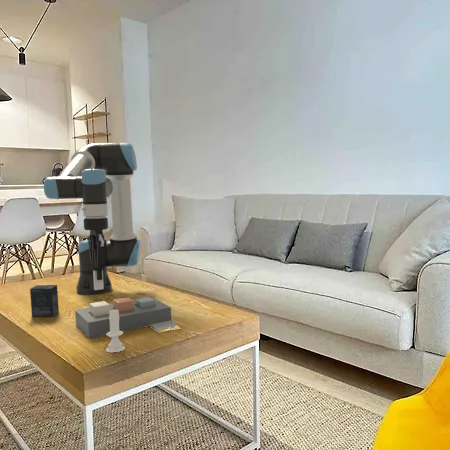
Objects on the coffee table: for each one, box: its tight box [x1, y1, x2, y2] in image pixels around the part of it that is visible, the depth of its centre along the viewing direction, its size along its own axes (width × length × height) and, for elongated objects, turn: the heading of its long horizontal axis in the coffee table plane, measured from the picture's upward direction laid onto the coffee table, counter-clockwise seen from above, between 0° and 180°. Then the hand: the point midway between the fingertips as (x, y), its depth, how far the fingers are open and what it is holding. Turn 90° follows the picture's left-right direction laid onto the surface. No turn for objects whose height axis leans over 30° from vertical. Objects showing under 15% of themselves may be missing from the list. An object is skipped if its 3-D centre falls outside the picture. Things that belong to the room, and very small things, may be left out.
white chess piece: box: [105, 309, 126, 354], centre depth 125 cm, size 5×5×12 cm
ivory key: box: [89, 300, 110, 317], centre depth 144 cm, size 5×5×4 cm
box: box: [29, 284, 60, 318], centre depth 160 cm, size 8×6×11 cm
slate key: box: [135, 297, 155, 308], centre depth 153 cm, size 5×5×4 cm
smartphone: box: [149, 319, 178, 333], centre depth 147 cm, size 8×1×15 cm
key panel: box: [74, 297, 172, 339], centre depth 149 cm, size 16×28×5 cm, turn 123°
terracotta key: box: [112, 297, 133, 312], centre depth 149 cm, size 5×5×4 cm
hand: (98, 289), depth 143 cm, fingers closed
